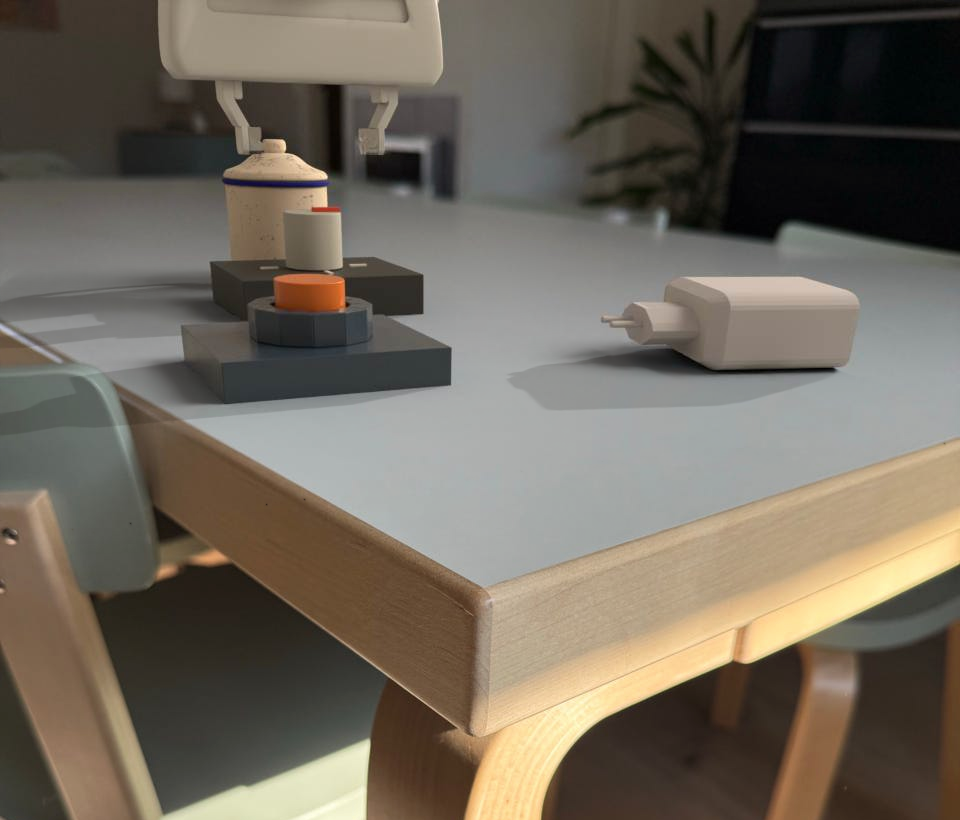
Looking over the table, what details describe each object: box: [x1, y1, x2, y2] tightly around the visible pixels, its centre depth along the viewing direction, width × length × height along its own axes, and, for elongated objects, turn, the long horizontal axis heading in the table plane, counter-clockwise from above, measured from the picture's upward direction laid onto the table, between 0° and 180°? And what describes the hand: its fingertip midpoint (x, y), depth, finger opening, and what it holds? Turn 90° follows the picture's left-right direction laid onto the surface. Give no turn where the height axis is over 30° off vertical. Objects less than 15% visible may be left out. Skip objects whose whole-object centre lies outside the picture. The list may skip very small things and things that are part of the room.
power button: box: [273, 274, 345, 311], centre depth 56 cm, size 4×4×2 cm
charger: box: [600, 276, 861, 371], centre depth 64 cm, size 5×9×15 cm
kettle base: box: [209, 256, 425, 322], centre depth 78 cm, size 14×11×3 cm
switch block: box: [180, 296, 453, 405], centre depth 58 cm, size 13×11×4 cm
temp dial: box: [283, 206, 343, 271], centre depth 76 cm, size 4×4×4 cm
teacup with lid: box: [221, 138, 330, 261], centre depth 87 cm, size 12×9×12 cm
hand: (312, 154), depth 74 cm, fingers open, 8 cm apart
